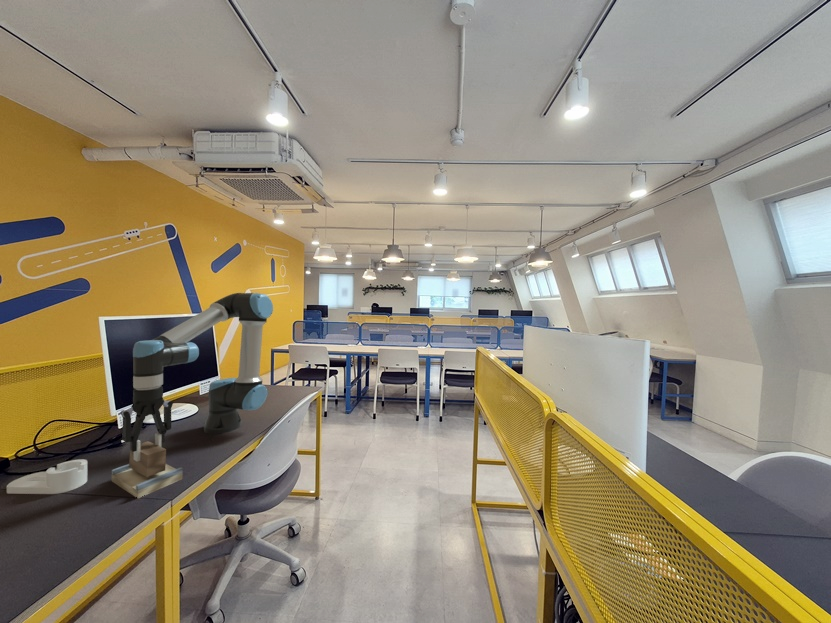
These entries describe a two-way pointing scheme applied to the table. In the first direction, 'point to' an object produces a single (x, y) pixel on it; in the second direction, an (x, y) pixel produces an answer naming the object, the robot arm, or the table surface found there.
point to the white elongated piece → (52, 479)
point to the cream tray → (145, 480)
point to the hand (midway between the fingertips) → (147, 456)
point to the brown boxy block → (149, 459)
